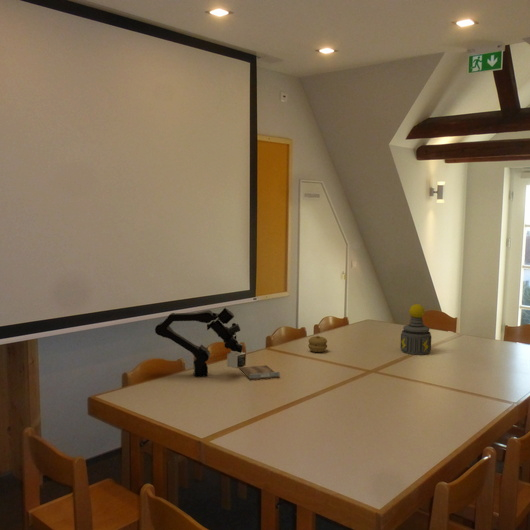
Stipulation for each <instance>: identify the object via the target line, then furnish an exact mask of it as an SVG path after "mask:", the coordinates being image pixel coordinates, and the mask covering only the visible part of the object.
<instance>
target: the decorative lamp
mask: <svg viewBox="0 0 530 530" xmlns="http://www.w3.org/2000/svg"><path fill="white" fill-rule="evenodd" d="M409 315H410V320H409V323H408V324H406V325H404V326H403V330H402V331H401V333H400V350H401V352H402V353H404V354H406V355H407V354H408V355H411V356H425V355H429V354H430V353H431V351H432V333H431V331H430V328H429V327H428V326H426V325H425V324H424V320H423V317H424V316H425V307H423V305H421V304H419V303H418V304H417V303H415V304H413V305H411V306H410V308H409Z"/></svg>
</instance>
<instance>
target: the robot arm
mask: <svg viewBox="0 0 530 530" xmlns="http://www.w3.org/2000/svg"><path fill="white" fill-rule="evenodd" d="M234 318H235V315H234V313H233V312H232V311H231V310H229V309H227V308H226V307H224V308H223V310H222V311H220V312H219V313H216V312H212V310H202V311H199V312H187V313H185V312H181V313H180V312H179V313H176V312H175V313H174V312H171V313H170V314H169V315H168V316H167V317H166V318H165V320H164V321H163V322H160V323H158V324H156V326H155V327H154V332H155V334H156V335H158V336H159V337H162V338H166V339H168V340H171V341H172V342H174V343H176V344H177V345H178V346H180V347H182V348H183V349H185V350H187V351H188V352H189V353H191V354H192V355H193V356H194V357H195V358H194V361H193V373H192V374H193V375H194V377H196V378H198V377H199V378H200V377H208V374H209V373H208V371H209V370H208V369H209V367H208V365H207V363H206V362H207V361H208V360H209V359H210V356H211V352H210V350H209V348H208V347H205V346H204V345H203V344H200V346H199V345H196V344H194V343H193V342H191V341H190V340H188V339H186V338H185V337H184V336H182V335H180V334H178V333H177V332H175V331H174V330H173V328H172V327H171V324H173V322H194V321H195V322H198V323H203V324H204V323H205V324H206V330H207V331H209V330H210V329H211V330H212V331H213V332H214V333H215V334H216V335H217V336H218V338H221V340H222V341H223V343H224V348H226V349H227V350H228V349H229V350H231V349H232V350H235V351H237V352H240V353H241V352H243V350H242V351H241V349H240V348H239V346H238V345H237V343H239V341H238V339H237V334H236V333H237V332H241V327H240V325H239V324H238V323H236V322H232V323H231V326H229V327H228V326H225V325H224V324H226V325H228V323H229V322H231V320H233V319H234Z"/></svg>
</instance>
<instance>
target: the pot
mask: <svg viewBox="0 0 530 530" xmlns="http://www.w3.org/2000/svg"><path fill="white" fill-rule="evenodd" d="M327 343H328V340H327V338H326V337H324V336H320V335H316V336H311V337H310V338H309V339H308V344H307V345H308V346H307V347H308V349H309V350H310V351H311V352H312V353H313V352H314V353H323V352H325V351H326V350H327V348H328V344H327Z"/></svg>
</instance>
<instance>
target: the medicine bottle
mask: <svg viewBox="0 0 530 530" xmlns="http://www.w3.org/2000/svg"><path fill="white" fill-rule="evenodd" d="M237 345H238V346H239V348H240V349H241V351H242V352H241V353H240V352H237V351H235V350H232V349H230V352H227V354H226V358H227V359H226V367H228V368H234V369H236V370H237V369H238V370H239V368H241V367H247V365H246V362H247V361H246V360H247V358H246V357H247V355H246V352H243V344H242V343H240V342H238V343H237Z"/></svg>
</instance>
